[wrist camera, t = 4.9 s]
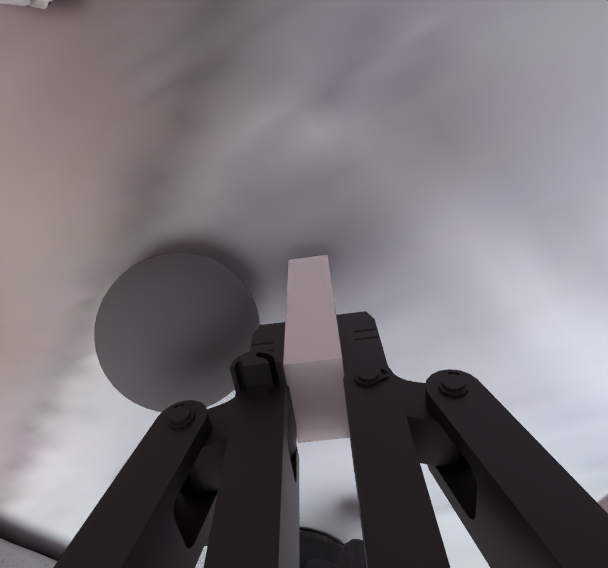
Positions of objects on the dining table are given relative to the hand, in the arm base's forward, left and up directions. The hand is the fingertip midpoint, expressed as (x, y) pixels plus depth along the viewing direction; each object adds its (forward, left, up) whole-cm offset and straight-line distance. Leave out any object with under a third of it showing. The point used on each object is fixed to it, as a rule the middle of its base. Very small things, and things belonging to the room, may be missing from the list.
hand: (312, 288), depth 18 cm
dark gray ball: (+5, +1, +1) cm, 5 cm away
